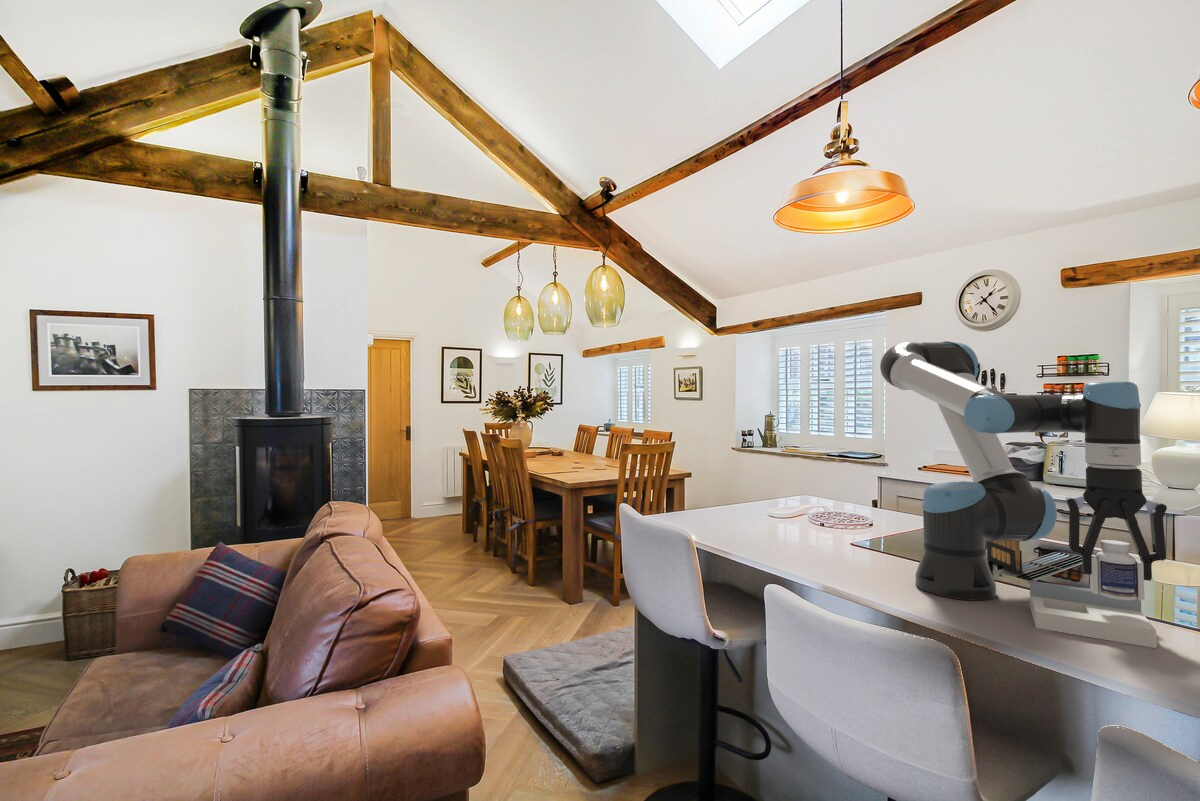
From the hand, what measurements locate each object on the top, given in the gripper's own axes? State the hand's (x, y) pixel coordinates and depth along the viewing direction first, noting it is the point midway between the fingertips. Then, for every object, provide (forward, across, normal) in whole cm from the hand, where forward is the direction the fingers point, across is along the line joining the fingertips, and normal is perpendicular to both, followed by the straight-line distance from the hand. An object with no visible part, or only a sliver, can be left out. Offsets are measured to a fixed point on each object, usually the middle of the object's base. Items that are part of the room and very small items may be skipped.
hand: (1116, 594), depth 101 cm
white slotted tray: (+6, -4, -1) cm, 8 cm away
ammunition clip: (+6, -15, +39) cm, 42 cm away
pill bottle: (+1, 0, 0) cm, 1 cm away
